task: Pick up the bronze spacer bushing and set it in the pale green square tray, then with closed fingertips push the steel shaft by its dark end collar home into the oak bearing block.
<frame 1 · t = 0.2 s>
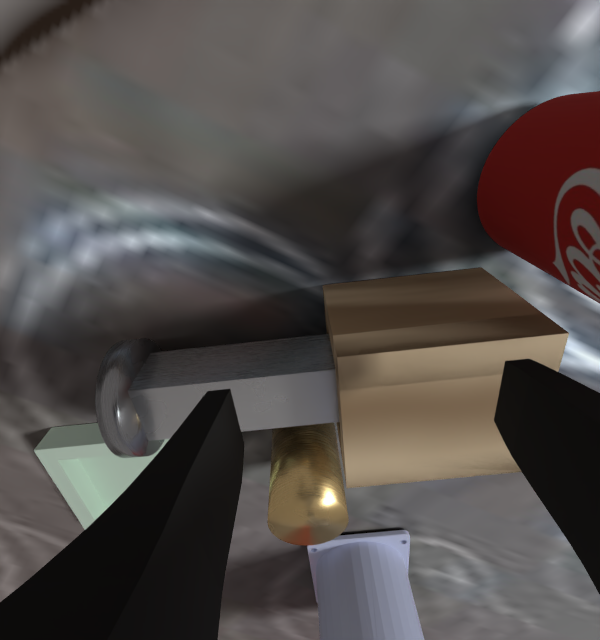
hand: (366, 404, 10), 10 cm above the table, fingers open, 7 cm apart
pale green square tray: (145, 469, 25), on the table
bearing block: (400, 335, 20), on the table
spacer: (303, 431, 23), on the table
shaft: (271, 382, 18), point 3 cm above the table, slide at 0.0 cm
beverage can: (535, 177, 16), on the table
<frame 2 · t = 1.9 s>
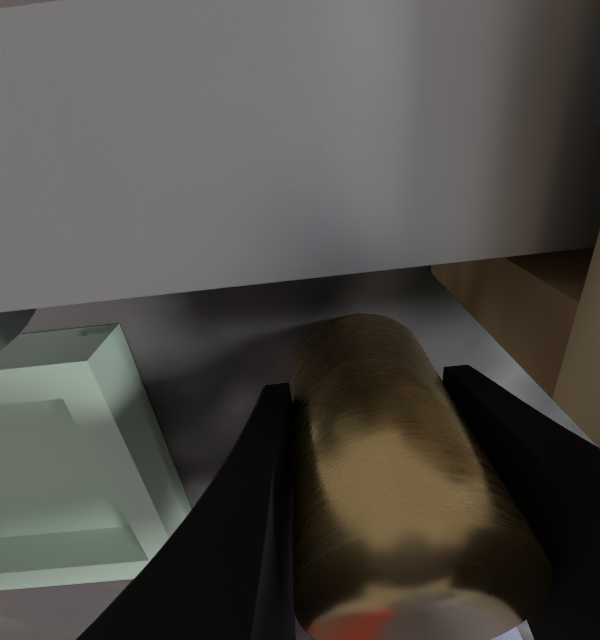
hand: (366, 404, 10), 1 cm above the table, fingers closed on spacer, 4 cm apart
pale green square tray: (33, 454, 12), on the table
spacer: (358, 372, 11), on the table, touching gripper
shaft: (309, 143, 5), point 3 cm above the table, slide at 0.0 cm
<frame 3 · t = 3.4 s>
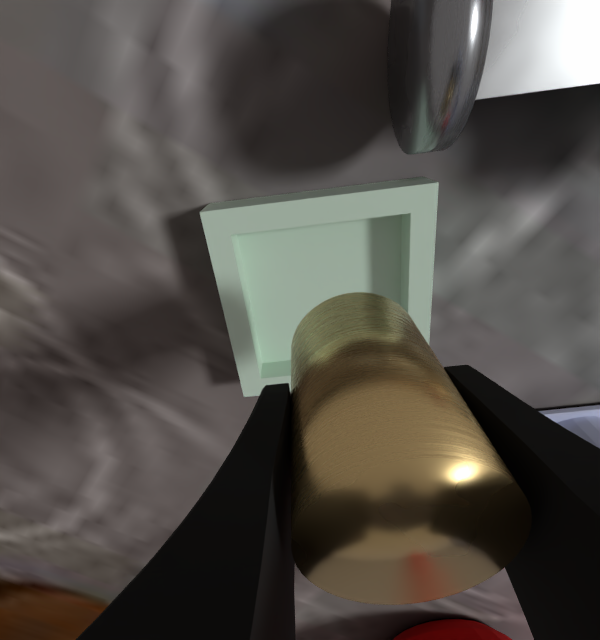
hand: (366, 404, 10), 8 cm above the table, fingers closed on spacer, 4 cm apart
pale green square tray: (324, 288, 17), on the table
spacer: (354, 350, 11), point 6 cm above the table, touching gripper
when the fingers open (3 cm above the table, at t = 4.9 s): spacer stays where it is, resting on pale green square tray.
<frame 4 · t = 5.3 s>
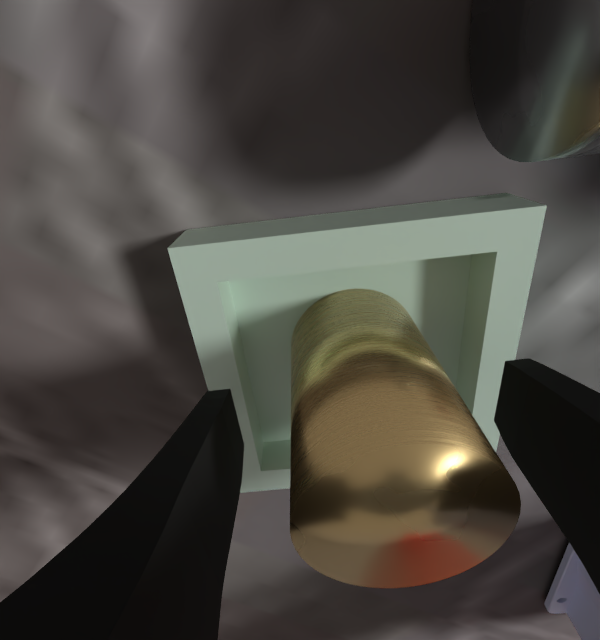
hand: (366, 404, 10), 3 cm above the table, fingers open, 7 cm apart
pale green square tray: (350, 346, 12), on the table
spacer: (353, 346, 12), point 1 cm above the table, touching pale green square tray
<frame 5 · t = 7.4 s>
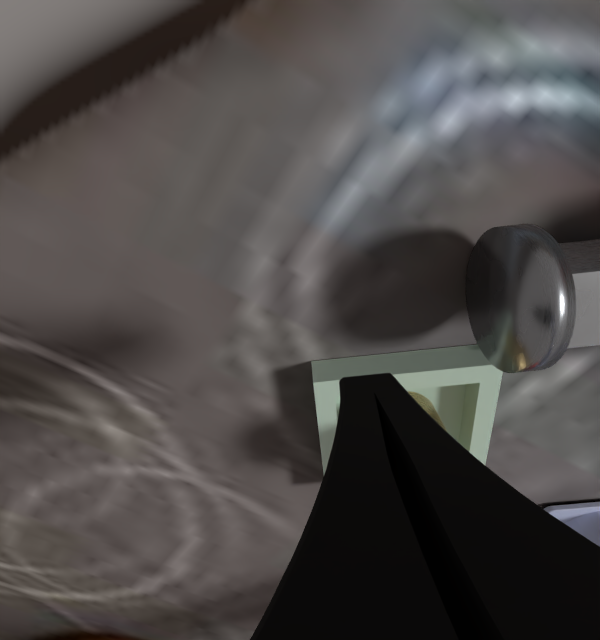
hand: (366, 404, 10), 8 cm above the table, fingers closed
pale green square tray: (396, 417, 21), on the table
spacer: (399, 419, 20), point 1 cm above the table, touching pale green square tray
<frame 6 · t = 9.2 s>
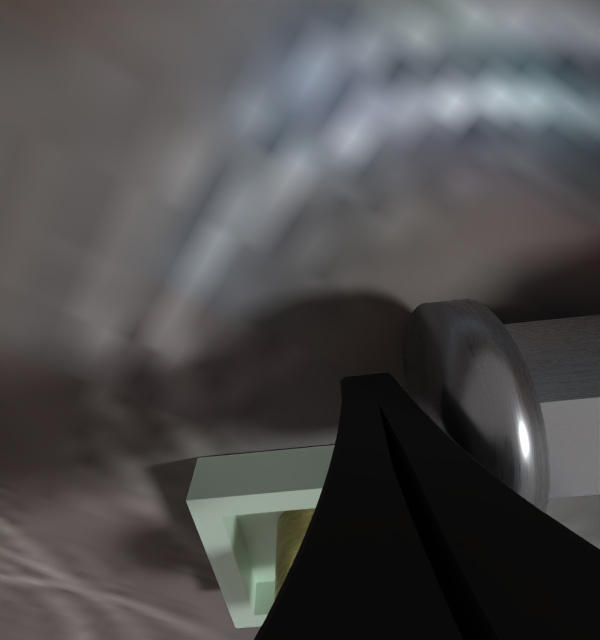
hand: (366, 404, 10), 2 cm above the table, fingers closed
pale green square tray: (323, 520, 16), on the table
spacer: (324, 527, 15), point 1 cm above the table, touching pale green square tray
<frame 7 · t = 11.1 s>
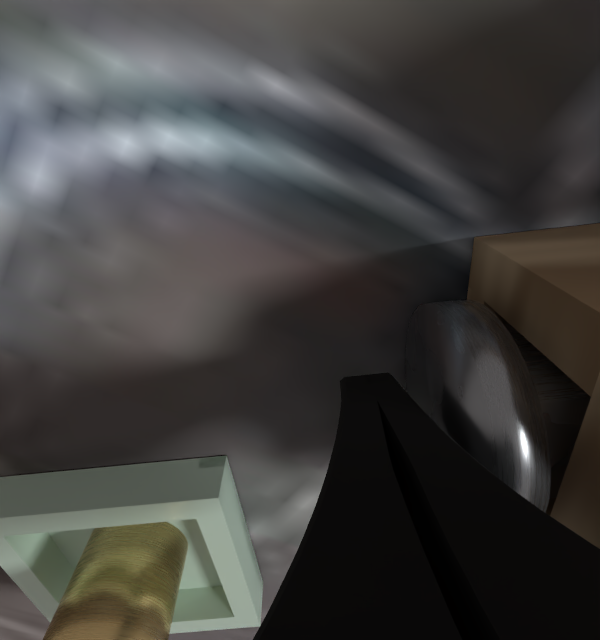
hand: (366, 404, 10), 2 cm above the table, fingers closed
pale green square tray: (146, 536, 16), on the table
bearing block: (587, 330, 12), on the table
spacer: (140, 544, 15), point 1 cm above the table, touching pale green square tray
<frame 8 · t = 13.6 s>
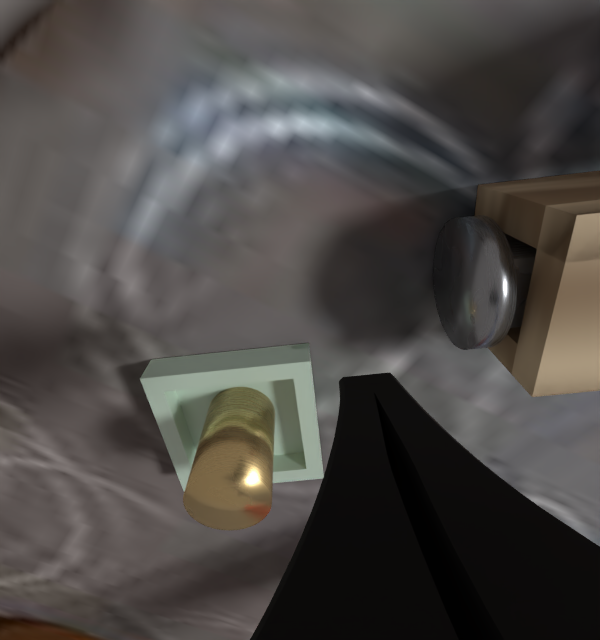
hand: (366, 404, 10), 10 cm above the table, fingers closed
pale green square tray: (243, 411, 23), on the table
bearing block: (550, 249, 18), on the table
spacer: (242, 413, 22), point 1 cm above the table, touching pale green square tray
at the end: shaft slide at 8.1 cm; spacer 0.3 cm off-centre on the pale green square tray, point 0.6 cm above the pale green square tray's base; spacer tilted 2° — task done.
